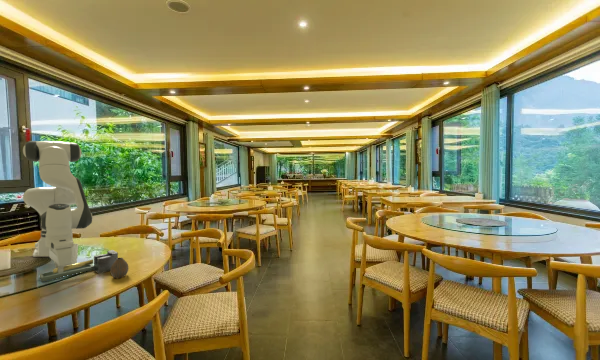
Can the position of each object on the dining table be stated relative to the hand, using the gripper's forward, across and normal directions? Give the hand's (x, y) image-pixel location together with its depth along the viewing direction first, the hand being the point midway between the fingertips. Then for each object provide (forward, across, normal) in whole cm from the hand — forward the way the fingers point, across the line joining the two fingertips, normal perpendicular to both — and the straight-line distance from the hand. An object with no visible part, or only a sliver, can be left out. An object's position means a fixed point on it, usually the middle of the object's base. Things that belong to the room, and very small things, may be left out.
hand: (59, 271), depth 117 cm
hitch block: (+4, 0, +17) cm, 18 cm away
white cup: (+4, -22, +8) cm, 24 cm away
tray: (+4, -6, +4) cm, 9 cm away
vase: (+4, +15, +18) cm, 24 cm away
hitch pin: (0, 0, +5) cm, 5 cm away
